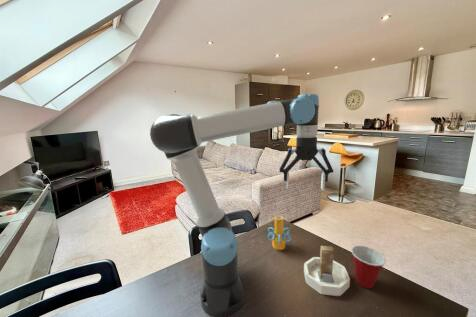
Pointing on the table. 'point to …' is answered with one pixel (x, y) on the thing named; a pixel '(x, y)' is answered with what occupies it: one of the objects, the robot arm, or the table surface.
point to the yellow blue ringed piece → (278, 234)
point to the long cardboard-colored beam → (326, 260)
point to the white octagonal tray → (326, 278)
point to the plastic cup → (367, 265)
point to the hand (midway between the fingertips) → (304, 189)
